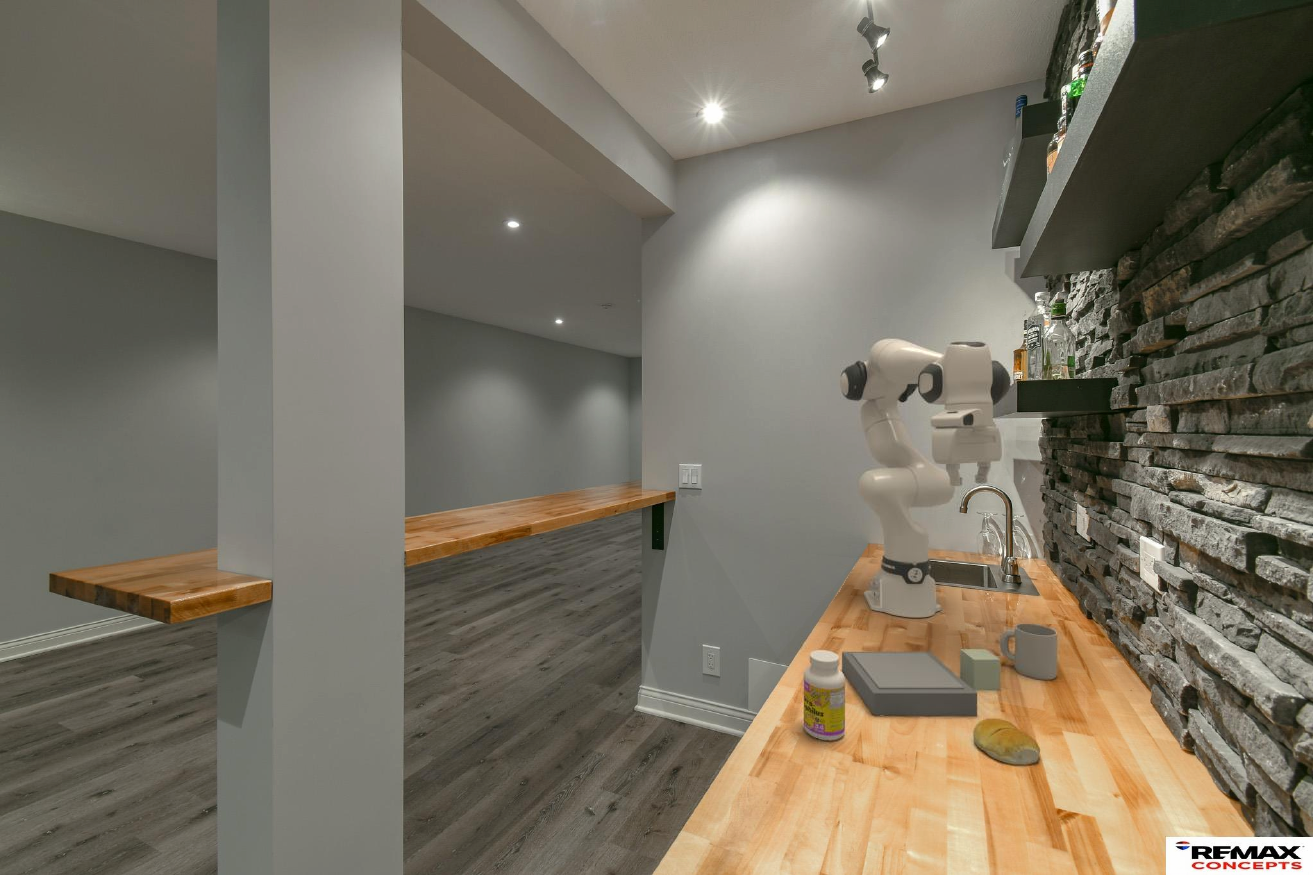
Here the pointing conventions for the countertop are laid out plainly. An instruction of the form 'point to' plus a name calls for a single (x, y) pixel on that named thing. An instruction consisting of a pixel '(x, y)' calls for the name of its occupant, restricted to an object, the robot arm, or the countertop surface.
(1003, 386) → the robot arm
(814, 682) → the supplement bottle
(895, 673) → the tray
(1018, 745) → the bread roll
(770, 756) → the countertop surface
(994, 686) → the sage block
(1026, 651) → the cup
